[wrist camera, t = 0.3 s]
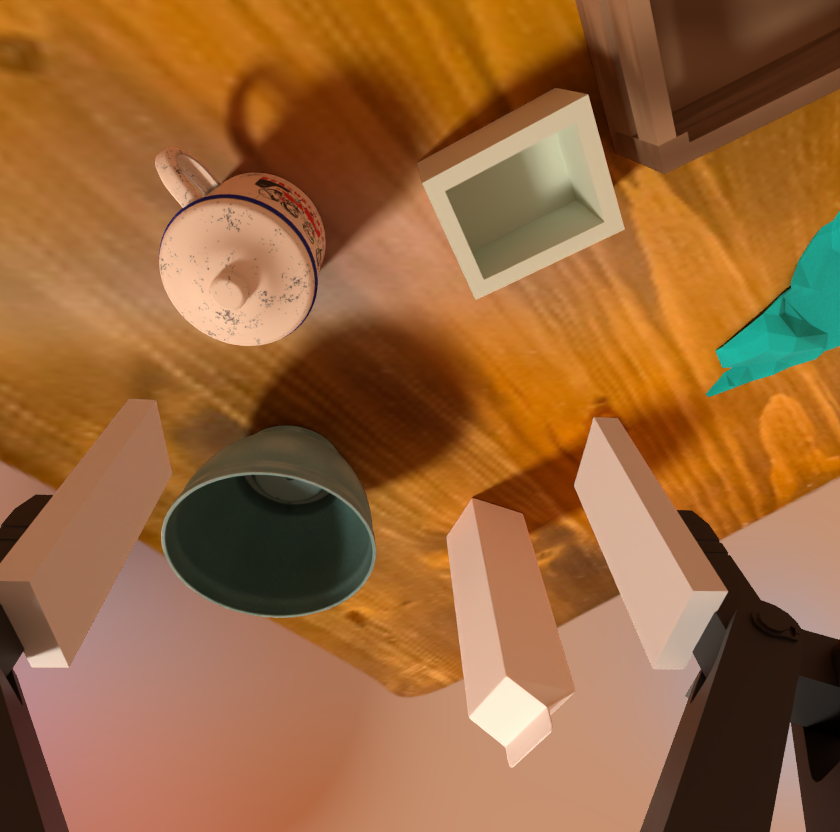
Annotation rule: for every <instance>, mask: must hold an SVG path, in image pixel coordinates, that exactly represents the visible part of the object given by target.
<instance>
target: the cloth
mask: <svg viewBox="0 0 840 832" xmlns="http://www.w3.org/2000/svg"><path fill="white" fill-rule="evenodd" d="M838 346H840V211H839V213H838V214H837V216H836V217H835V219H834V221H832V222H830V223H828V224H827V225H825V226H823V227H822V228H821V229H820V230H819V231H818V233H817V234H816V235H815V236H814V237H813V239H812V240H811V242H810V244H809V245H808V247H807V248H806V250H805V252H804V253H803V255H802V256H801V258H800V260H799V261H798V264H797V267H796V270H795V273H794V276H793V278H792V281H791V288H790V289H789V290H787V291H786V292H784V293H783V294H782V295H780V296H779V297H778V299H777V300H776V301H775V302H774V303H773V304H772V305H771V306H770V307H769V308H768V309H767V310H766V311H765V312H764V313H763V314H762V315H760V316H759V317H758V318H757V319H755V320H754V321H753V322H752V323H751V324H749V325H748V326H747V327H746V328H745V329H743V330H742V331H741V332H740V333H738V334H737V335H736V336H735V337H733V338H732V339H731V340H729V341H728V342H727V343H726V344H724V345H723V346H722V347H720V348H718V349H717V350H715V351H716V353H717V356H718V358H719V361H720V363H721V365H722V368H730V367H733V368H731V369H730V370H728V371H726V372H725V373H723V375H722V376H721V377H720V378H719V380H718V381H717V382H716V383H715V384H714V385H713V386H712V388H711V389H710V390H709V391H708V392H707V393H706V395H707V396H708V397H710V396H713V395H716V394H719V393H721V392H724V391H727V390H729V389H732V388H735V387H737V386H740V385H743V384H745V383H748V382H751V381H753V380H757V379H760V378H764V377H767V376H771V375H774V374H776V373H778V372H780V371H782V370H784V369H787V368H789V367H791V366H794V365H798V364H801V363H805V362H808V361H811V360H814V359H816V358H818V357H819V356H820V355H821V354H822V353H823V352H824V351H827V350H830V349H833V348H835V347H838Z"/></svg>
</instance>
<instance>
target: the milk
mask: <svg viewBox="0 0 840 832" xmlns="http://www.w3.org/2000/svg"><path fill="white" fill-rule="evenodd" d="M447 545H448V554H449V562H450V570H451V578H452V586H453V594H454V602H455V610H456V618H457V626H458V634H459V642H460V650H461V658H462V666H463V674H464V682H465V690H466V699H467V706H468V715H469V718H470V719H471V720H472V721H473V722H475V723H476V724H477V725H479V726H480V727H481V728H482V729H483V730H485V731H486V732H487V733H488V734H490V735H491V736H492V737H493V738H495V739H496V740H497V741H499V742H500V743H501V744H502V745H503V746H505V748H506V752H507V758H508V764H509V766H510V767H514V766H515V765H516V764H517V763H518V762H519V761H520V760H521V759H522V758H523V757H524V756H525V755H527V754H528V753H529V752H530V751H531V750H532V749H533V748H534V747H535V746H537V745H538V744H539V743H540V742H541V741H542V740H543V739H544V738H545V737H546V736H547V735H548V734H550V733H551V732H552V728H553V726H552V720H551V716H550V715H552V713H553V712H555V711H556V710H557V709H558V708H559V707H560V706H561V705H562V704H563V703H564V702H565V701H566V700H567V699H568V698H569V697H570V696H572V695H573V693H575V688H574V685H573V681H572V678H571V674H570V671H569V667H568V664H567V661H566V657H565V654H564V651H563V647H562V644H561V640H560V637H559V634H558V630H557V627H556V624H555V620H554V617H553V614H552V610H551V607H550V603H549V600H548V597H547V593H546V590H545V587H544V583H543V580H542V576H541V573H540V570H539V566H538V563H537V560H536V556H535V553H534V549H533V546H532V543H531V539H530V536H529V533H528V529H527V526H526V522H525V519H524V516H523V514H522V513H519V512H516V511H513V510H510V509H507V508H504V507H500V506H497V505H494V504H491V503H488V502H485V501H482V500H478V499H475V498H472V499H471V500H470V502H469V503H468V505H467V506H466V508H465V509H464V511H463V512H462V514H461V515H460V517H459V518H458V520H457V521H456V523H455V524H454V526H453V528H452V529H451V531H450V532H449V534H448V535H447Z"/></svg>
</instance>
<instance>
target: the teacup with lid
mask: <svg viewBox="0 0 840 832" xmlns="http://www.w3.org/2000/svg"><path fill="white" fill-rule="evenodd" d="M155 165H156V169H157V171H158V174H159V176H160V178H161V180H162V182H163V183H164V185H165V186H166V188H167V189H168V190H169V192H170V193H171V194H172V196H173V197H174V198H175V199H176V200H177V201H178V203H179V204H180V205H181V206H182V207H183V208H182V209H181V210H180V211H179V212H178V213H177V214H176V215H175V216H174V217H173V218H172V220H171V221H170V223H169V224H168V226H167V228H166V230H165V232H164V234H163V237H162V240H161V244H160V251H159V266H160V273H161V278H162V282H163V285H164V287H165V290H166V292H167V294H168V296H169V298H170V300H171V301H172V303H173V305H174V306H175V307H176V309H177V310H178V311H179V312H180V314H181V315H182V316H183V317H184V318H185V319H186V320H187V321H188V322H189V323H191V324H192V325H193V326H194V327H196V328H197V329H198V330H200V331H201V332H203V333H205V334H206V335H208V336H210V337H212V338H215V339H217V340H220V341H223V342H226V343H230V344H234V345H242V346H257V345H264V344H268V343H272V342H275V341H277V340H279V339H282V338H284V337H286V336H287V335H289V334H291V333H292V332H293V331H295V330H296V329H297V328H298V327H299V326H300V325H301V324H302V323H303V322H304V321H305V319H306V318H307V316H308V315H309V313H310V311H311V309H312V307H313V305H314V302H315V298H316V294H317V285H318V275H319V272H320V268H321V265H322V262H323V258H324V255H325V248H326V237H325V230H324V226H323V222H322V219H321V217H320V215H319V213H318V211H317V209H316V207H315V206H314V204H313V203H312V201H311V200H310V199H309V198H308V197H307V196H306V194H305V193H304V192H302V191H301V190H300V189H299V188H298V187H296V186H295V185H294V184H292V183H290V182H289V181H287V180H285V179H283V178H280V177H278V176H275V175H271V174H266V173H245V174H241V175H237V176H234V177H232V178H230V179H228V180H226V181H225V182H223V183H222V184H220V183H219V181H218V180H217V179H216V178H215V176H214V175H213V174H212V173H211V172H210V171H209V170H208V168H207V167H206V166H205V165H204V164H203V163H202V162H201V161H199V160H198V159H197V158H196V157H195V156H193V155H192V154H190V153H189V152H187V151H185V150H183V149H181V148H178V147H167V148H165V149H164V150H162V151H161V152H160V153H159V154H158V155H157V157H156V160H155ZM182 172H183V173H185V174H186V175H187V176H188V177H189V178H190V179H191V180H192V181H193V182H194V183H195V184H196V185H197V186H198V187H199V188H200V190H201V191H202V192H203V193H204V194H205V196H206V197H203V198H202V197H201V196H200V195H199V194H198V192H197V191H196V190H195V189H194V188H193V186H192V185H191V184H190V183H189V181H188V180H187V179H186V177H185V176H184V174H183V173H182Z"/></svg>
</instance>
